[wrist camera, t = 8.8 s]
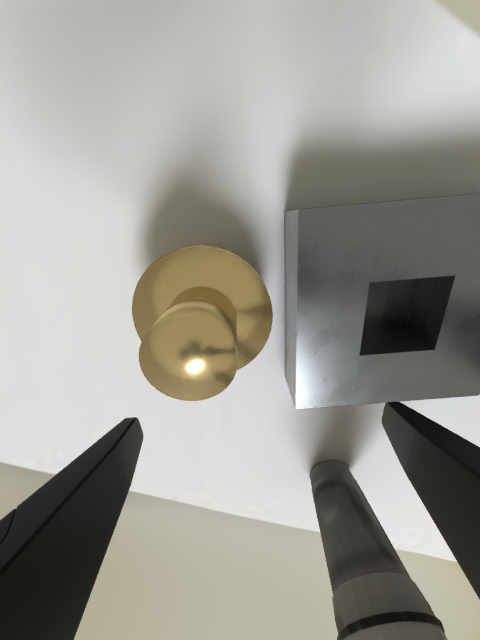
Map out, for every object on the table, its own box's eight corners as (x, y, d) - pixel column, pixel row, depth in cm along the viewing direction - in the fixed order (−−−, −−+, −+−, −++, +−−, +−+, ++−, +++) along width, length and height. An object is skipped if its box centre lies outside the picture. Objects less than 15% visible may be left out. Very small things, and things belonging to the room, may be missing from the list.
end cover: (263, 236, 17) (288, 250, 9) (267, 345, 20) (288, 428, 12) (140, 247, 17) (51, 271, 9) (165, 353, 21) (118, 441, 12)
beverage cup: (295, 456, 26) (441, 1033, 8) (361, 447, 26) (688, 1031, 7) (300, 496, 29) (415, 989, 10) (360, 489, 28) (591, 986, 10)
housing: (487, 194, 16) (562, 186, 12) (437, 365, 22) (479, 395, 18) (284, 212, 16) (298, 209, 13) (285, 377, 22) (295, 409, 18)
